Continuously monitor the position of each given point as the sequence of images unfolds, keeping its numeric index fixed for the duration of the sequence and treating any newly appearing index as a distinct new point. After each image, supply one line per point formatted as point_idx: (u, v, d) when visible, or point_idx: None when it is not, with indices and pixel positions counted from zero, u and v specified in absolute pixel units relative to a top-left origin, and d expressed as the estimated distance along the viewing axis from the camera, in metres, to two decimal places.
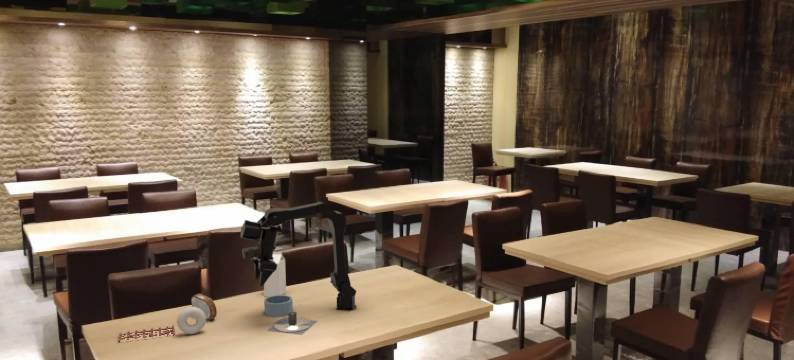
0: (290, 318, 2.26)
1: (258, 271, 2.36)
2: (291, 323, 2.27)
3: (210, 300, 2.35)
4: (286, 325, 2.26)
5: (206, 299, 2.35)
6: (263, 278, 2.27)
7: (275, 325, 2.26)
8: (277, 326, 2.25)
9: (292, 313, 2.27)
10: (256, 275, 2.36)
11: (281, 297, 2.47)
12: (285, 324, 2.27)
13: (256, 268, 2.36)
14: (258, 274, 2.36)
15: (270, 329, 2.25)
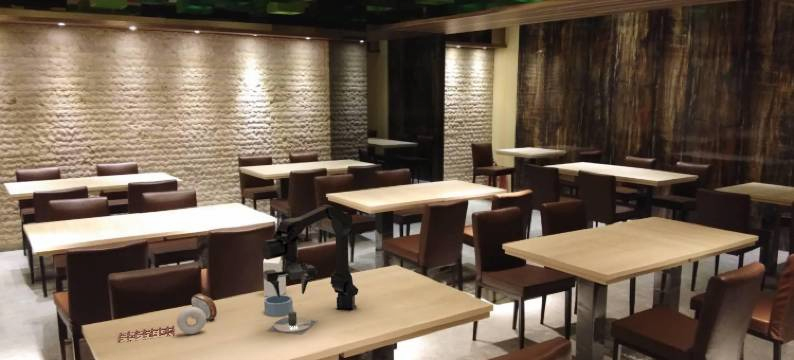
0: (290, 318, 2.26)
1: None
2: (291, 323, 2.27)
3: (210, 300, 2.35)
4: (286, 325, 2.26)
5: (206, 299, 2.35)
6: None
7: (275, 325, 2.26)
8: (277, 326, 2.25)
9: (292, 313, 2.27)
10: None
11: (281, 297, 2.47)
12: (285, 324, 2.27)
13: None
14: None
15: (270, 329, 2.25)
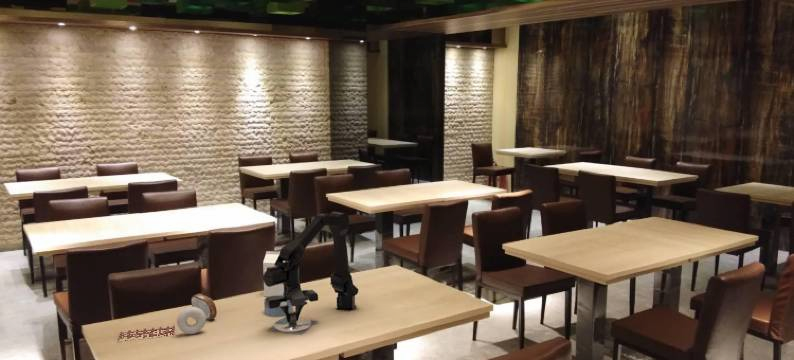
0: (290, 318, 2.26)
1: None
2: (291, 323, 2.27)
3: (210, 300, 2.35)
4: (286, 325, 2.26)
5: (206, 299, 2.35)
6: None
7: (275, 325, 2.26)
8: (277, 326, 2.25)
9: (292, 313, 2.27)
10: None
11: (281, 297, 2.47)
12: (285, 324, 2.27)
13: None
14: None
15: (270, 329, 2.25)
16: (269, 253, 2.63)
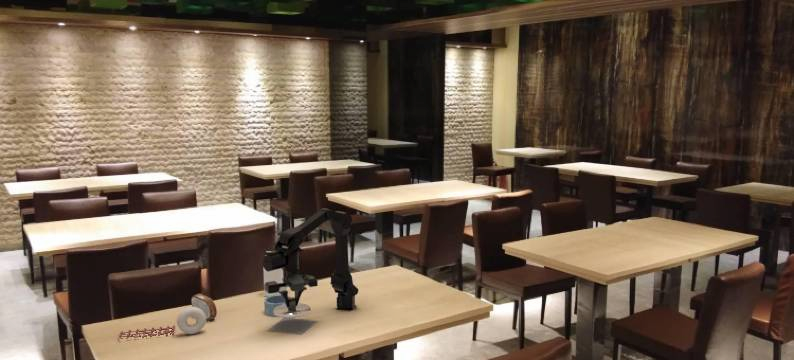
0: (289, 303, 2.26)
1: None
2: (290, 308, 2.26)
3: (210, 300, 2.35)
4: (286, 310, 2.26)
5: (206, 299, 2.35)
6: None
7: (274, 310, 2.25)
8: (277, 311, 2.25)
9: (291, 298, 2.26)
10: None
11: (281, 297, 2.47)
12: (284, 309, 2.26)
13: None
14: None
15: (270, 329, 2.25)
16: None
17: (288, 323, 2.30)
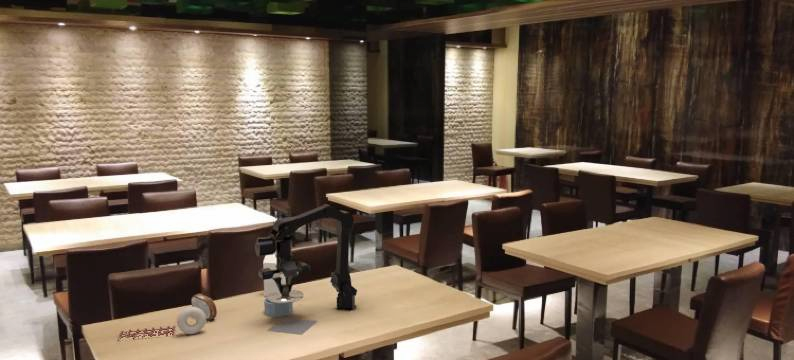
0: (283, 289, 2.32)
1: None
2: (284, 294, 2.32)
3: (210, 300, 2.35)
4: (279, 296, 2.32)
5: (206, 299, 2.35)
6: None
7: (268, 297, 2.32)
8: (270, 297, 2.31)
9: (285, 285, 2.33)
10: None
11: None
12: (278, 296, 2.33)
13: None
14: None
15: (270, 329, 2.25)
16: None
17: (288, 323, 2.30)
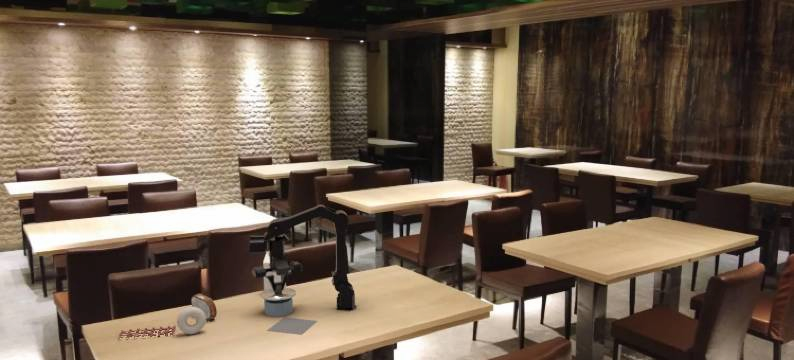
0: (276, 287, 2.40)
1: None
2: (277, 292, 2.40)
3: (210, 300, 2.35)
4: (272, 294, 2.40)
5: (206, 299, 2.35)
6: None
7: (262, 294, 2.40)
8: (264, 295, 2.39)
9: (278, 283, 2.41)
10: None
11: None
12: (271, 293, 2.41)
13: None
14: None
15: (270, 329, 2.25)
16: None
17: (288, 323, 2.30)
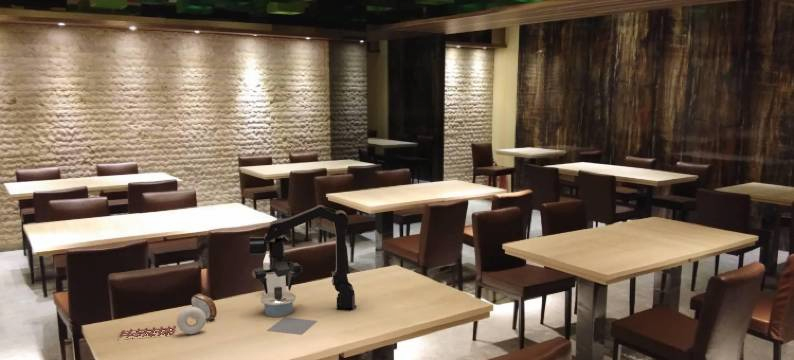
0: (276, 292, 2.40)
1: None
2: (277, 297, 2.41)
3: (210, 300, 2.35)
4: (272, 298, 2.40)
5: (206, 299, 2.35)
6: None
7: (262, 299, 2.40)
8: (264, 299, 2.40)
9: (278, 287, 2.41)
10: None
11: None
12: (271, 298, 2.41)
13: None
14: None
15: (270, 329, 2.25)
16: None
17: (288, 323, 2.30)
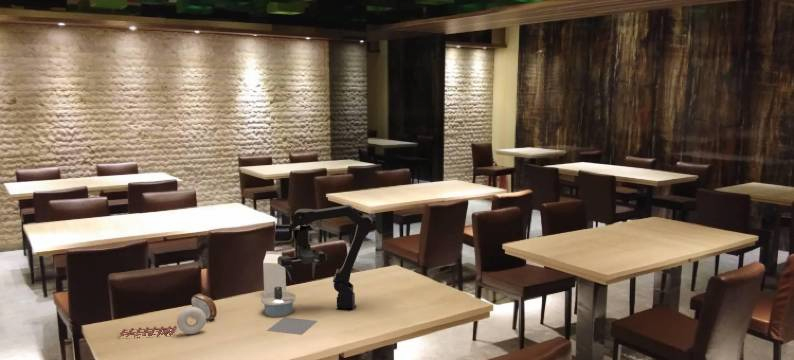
0: (276, 292, 2.40)
1: None
2: (277, 297, 2.41)
3: (210, 300, 2.35)
4: (272, 298, 2.40)
5: (206, 299, 2.35)
6: None
7: (262, 299, 2.40)
8: (264, 299, 2.40)
9: (278, 287, 2.41)
10: None
11: None
12: (271, 298, 2.41)
13: None
14: None
15: (270, 329, 2.25)
16: (269, 253, 2.63)
17: (288, 323, 2.30)
